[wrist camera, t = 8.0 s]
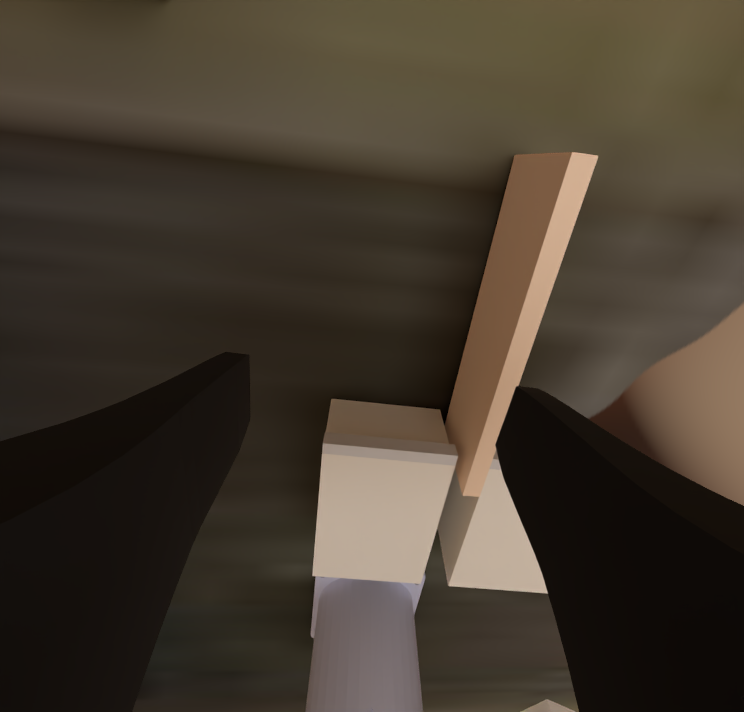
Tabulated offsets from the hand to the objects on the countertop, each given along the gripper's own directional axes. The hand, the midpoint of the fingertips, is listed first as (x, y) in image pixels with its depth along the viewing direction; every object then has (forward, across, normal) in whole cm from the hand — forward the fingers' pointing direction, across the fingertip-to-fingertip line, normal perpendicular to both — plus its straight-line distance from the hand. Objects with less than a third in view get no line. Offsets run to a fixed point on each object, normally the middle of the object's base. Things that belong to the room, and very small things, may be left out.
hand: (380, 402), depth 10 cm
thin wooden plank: (+9, -5, 0) cm, 11 cm away
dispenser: (+9, -5, +11) cm, 15 cm away
